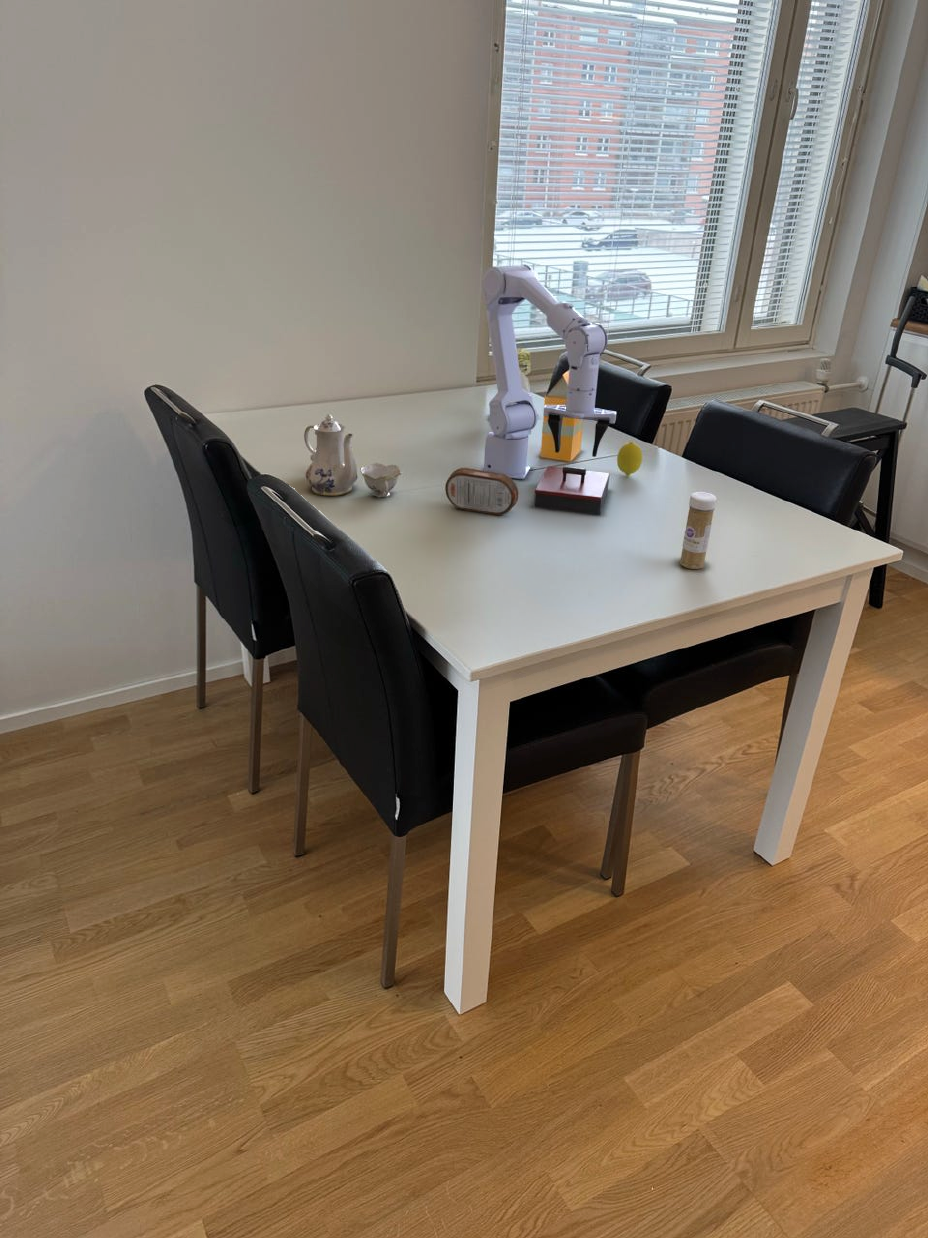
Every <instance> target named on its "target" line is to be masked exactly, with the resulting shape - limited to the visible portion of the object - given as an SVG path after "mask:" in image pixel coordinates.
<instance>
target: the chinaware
mask: <svg viewBox="0 0 928 1238" xmlns="http://www.w3.org/2000/svg"><path fill="white" fill-rule="evenodd" d="M310 429H314V435H315V437H316V447H315V449H313V447H312V445H311V443H310V440H309V433H310ZM345 429H346V426H345V425H343V424H342V423H338V422H337V421H336V419H334V418H333V416H332V415H331V414H330V413H328V414H327V415H326V416H325V418H324V419H323V420H322V421H321V423H318V424H312V425H308V426H307V427H306V428H305V430H304V433H303V438H304V443H305V446H306V448H307V450H308V451H309V452H310V453H311V454H310V456H309V457H310V460H311V463H310V464H309V467H308V468H307V470H306V472H305V479H306V481H307V482H308V483H309V485H311V487H312V488H311V491H312V492H313V493H314V494H316V495H319V496H324V497H337V496H344V495H347V494H348V493H350V492H352V490H353V488H352V486H353V485H354V484H355V483H356V482H357V480H358V468H357V463H356V459H355V456H354V452H353V450H354V447H353V446H352V443H351V439H352V437H353V435H354V434H353V433H347V434H346V435H345V436H344V432H345ZM360 473H361V475H362V477H363V479H364V483H365V485H366V486H367V488H368V489H369V490H370V491H372V492H373V493H372V496H374V497H377V498H385V497H388V496H390V494H391V492H390V491H392V490H394V488H395V486H396V485H397V483H398V480H399V476H401V475H402V473H403V472H402V470H400V467H399V466H397V465H395V464H389V465H387V466H386V465H385V464H383V463H377V462H376V463H372V464H370V465H369V466H367V467H366V466H362V467H360Z"/></svg>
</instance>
